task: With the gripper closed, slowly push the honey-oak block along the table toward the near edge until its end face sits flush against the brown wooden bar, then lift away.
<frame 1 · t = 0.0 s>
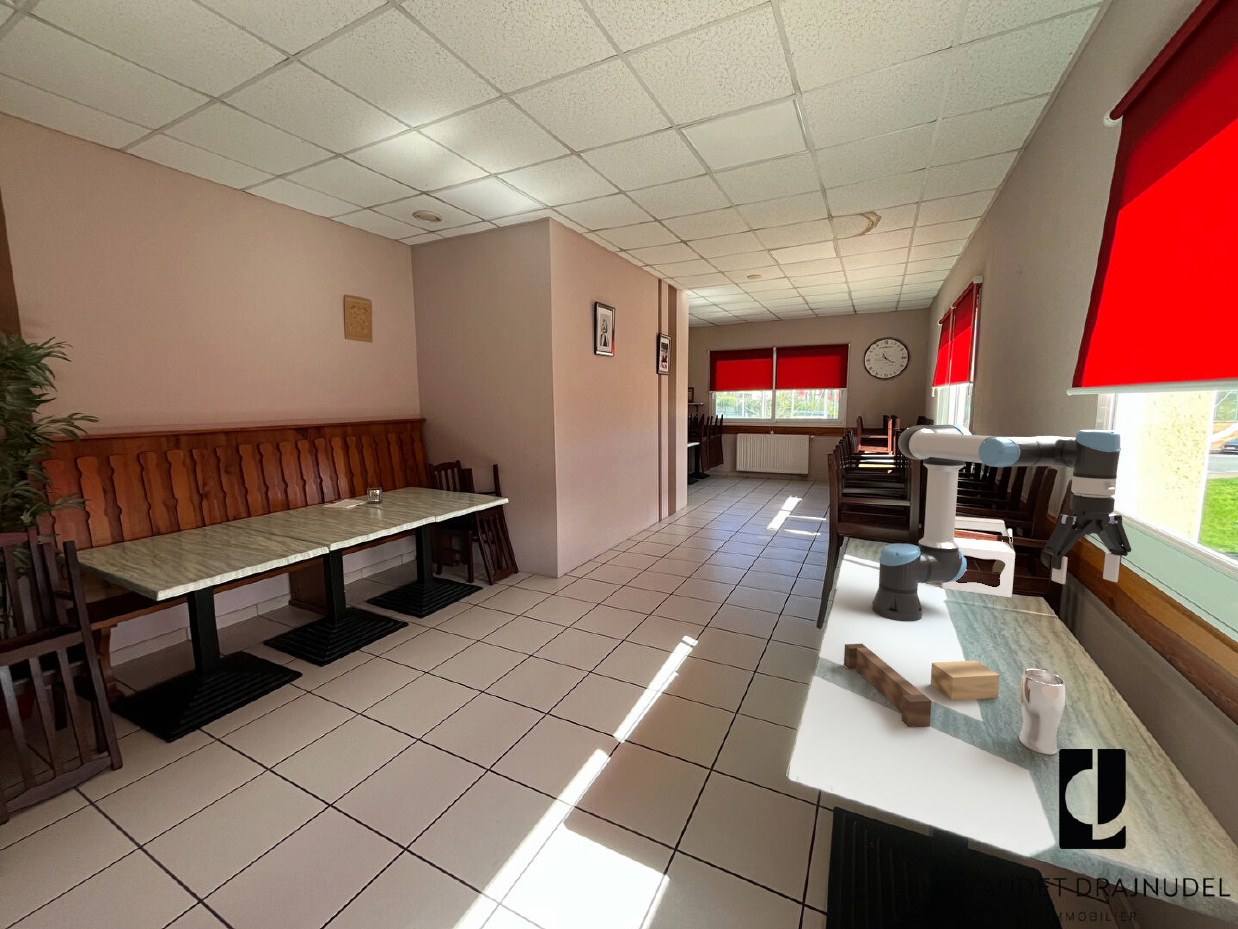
hand: (1084, 581, 118), 28 cm above the table, fingers open, 13 cm apart
brown wooden bar: (886, 692, 121), on the table
oak block: (963, 691, 121), on the table
silver metal tumbler: (1037, 745, 101), on the table
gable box: (972, 588, 192), on the table
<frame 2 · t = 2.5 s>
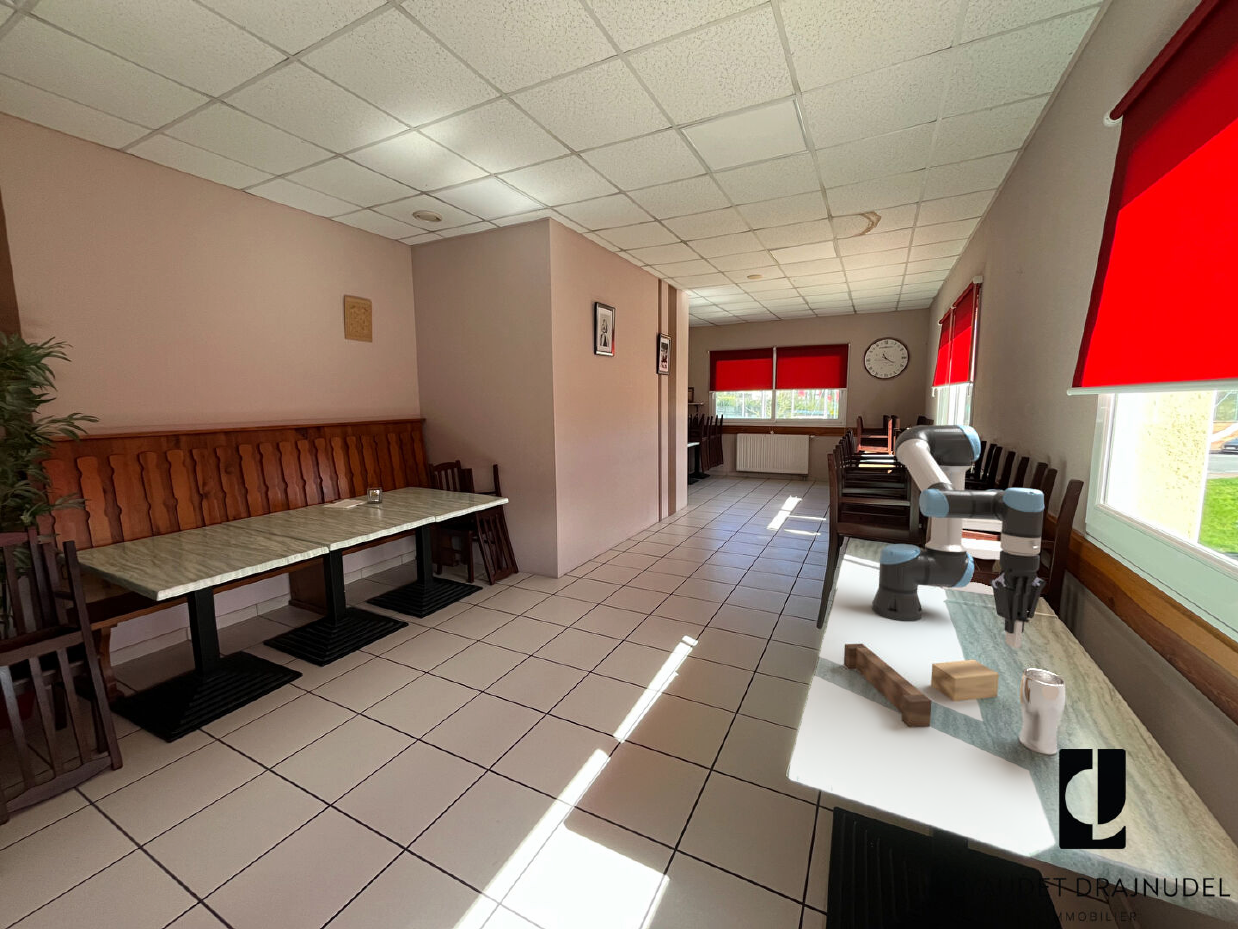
hand: (1012, 645, 121), 12 cm above the table, fingers closed
nothing on the table moved.
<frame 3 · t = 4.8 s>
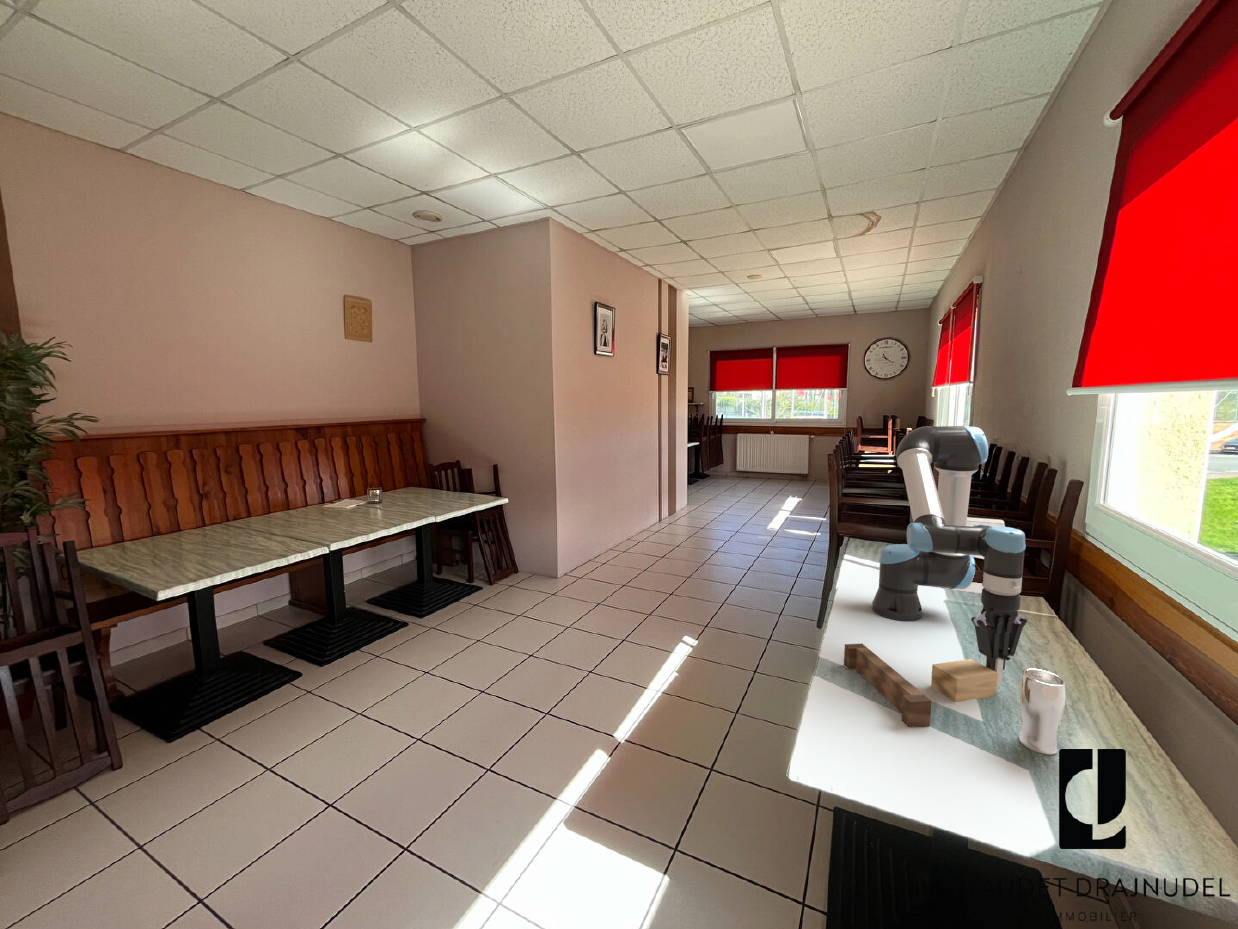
hand: (994, 681, 122), 2 cm above the table, fingers closed
oak block: (962, 691, 121), on the table, touching gripper
everything else where it was.
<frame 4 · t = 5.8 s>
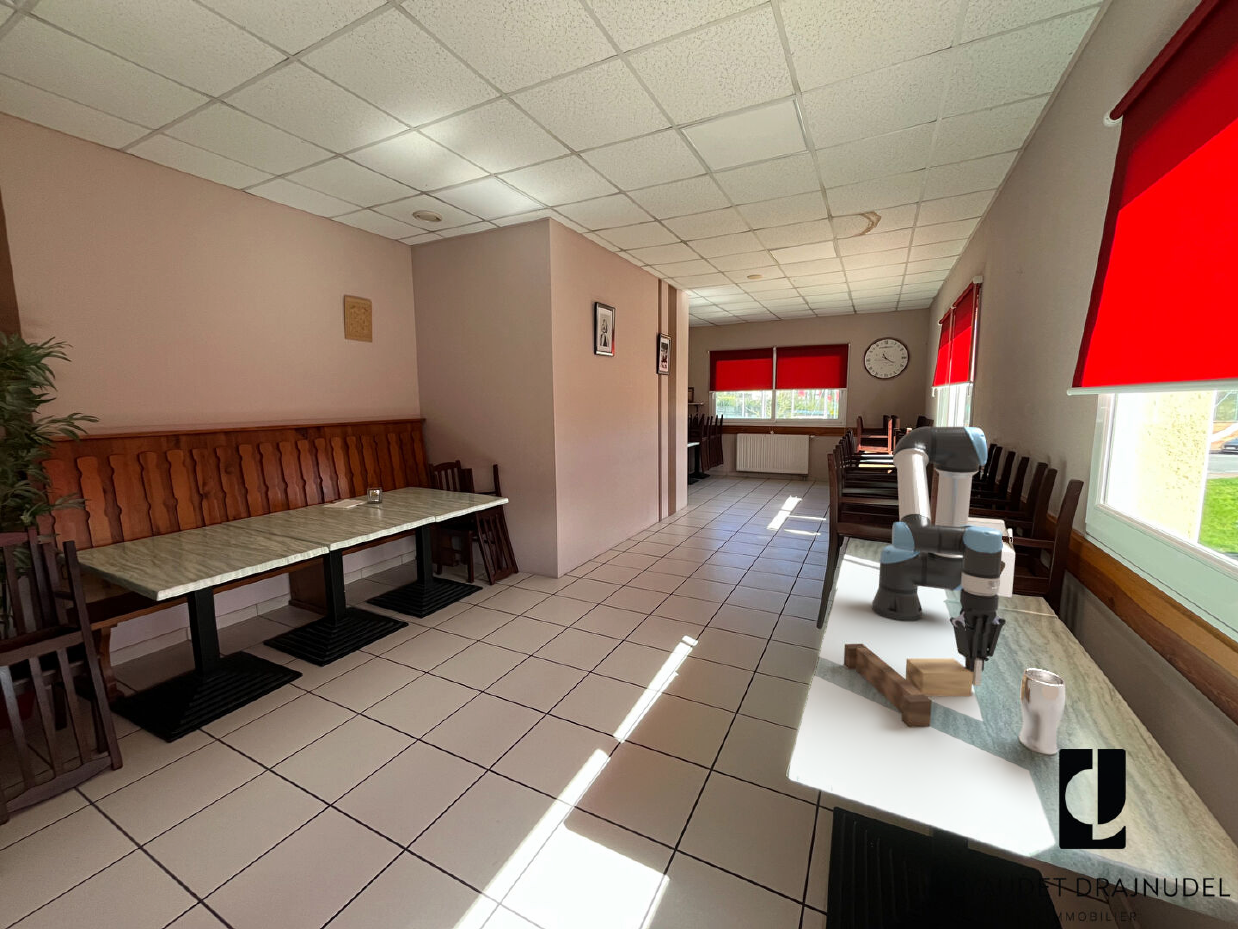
hand: (973, 682, 121), 2 cm above the table, fingers closed
oak block: (937, 688, 123), on the table, touching gripper
everything else where it was.
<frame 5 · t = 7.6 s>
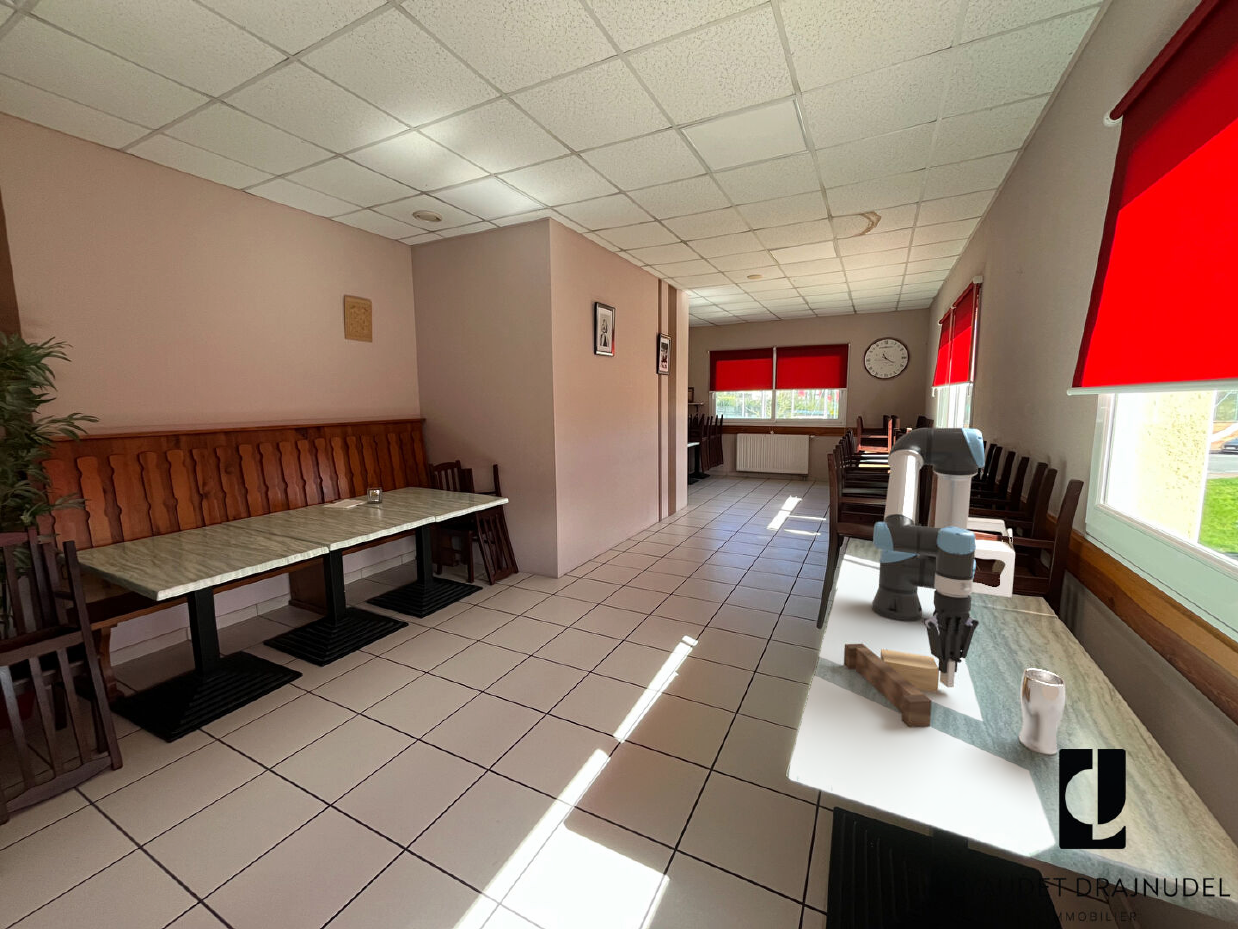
hand: (946, 684, 121), 2 cm above the table, fingers closed
oak block: (907, 681, 126), on the table
everything else where it was.
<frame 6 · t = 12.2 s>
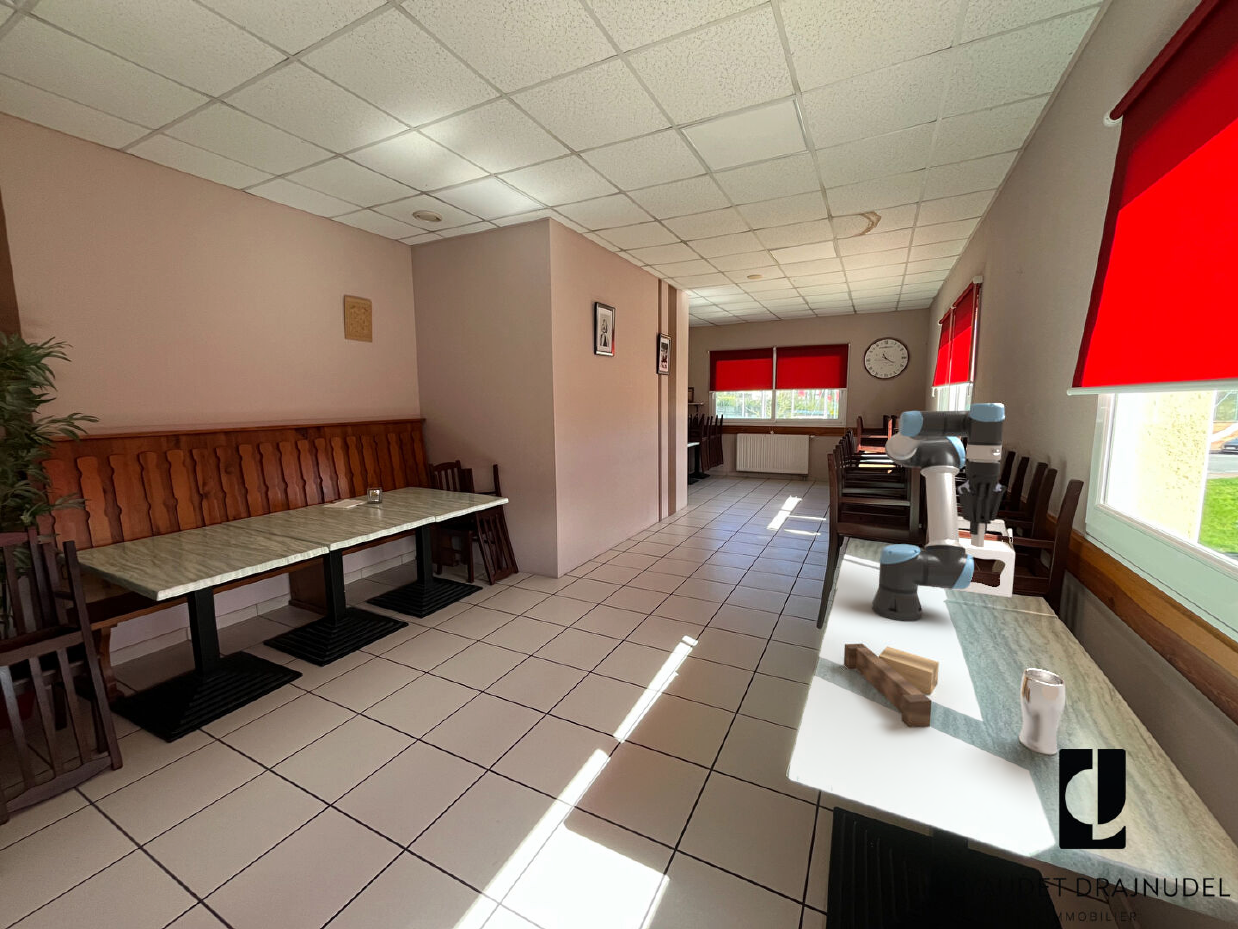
hand: (977, 546, 134), 32 cm above the table, fingers closed
at the end: oak block inside the target area on the table beside the brown wooden bar (5.8 cm from its centre), on the table; oak block tilted 0° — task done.
